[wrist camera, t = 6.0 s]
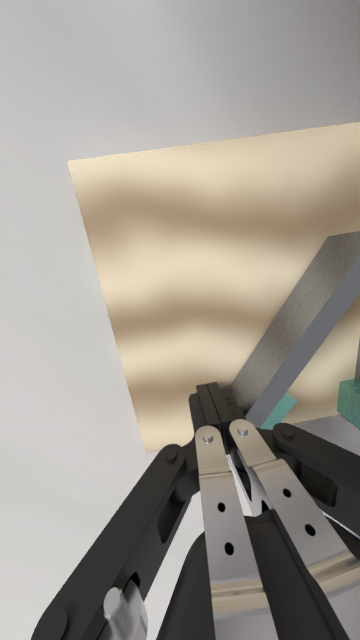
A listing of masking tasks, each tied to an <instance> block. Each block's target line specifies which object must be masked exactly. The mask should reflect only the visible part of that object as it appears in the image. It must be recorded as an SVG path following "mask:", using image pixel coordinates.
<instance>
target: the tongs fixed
mask: <svg viewBox="0 0 360 640" xmlns="http://www.w3.org/2000/svg"><path fill="white" fill-rule="evenodd" d="M337 412H339V413H340V414H341V415H342V416H343V417H345V418H346V419H347V420H348V421H349V422H351V423H352V424H353V425H354V426H355V427H357V428H358V429H359V430H360V339H359V347H358V354H357V362H356V370H355V378H354V379H351V380H346V381H340V383H339V392H338V402H337Z"/></svg>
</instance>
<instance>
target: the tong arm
mask: <svg viewBox="0 0 360 640" xmlns="http://www.w3.org/2000/svg"><path fill="white" fill-rule="evenodd" d="M359 293H360V231H356V232H350V233H344V234H338V235H333V236H328V237H327V239H326V240H325V242H324V243H323V245H322V246H321V248H320V249H319V251H318V252H317V254H316V256H315V257H314V259H313V260H312V262H311V263H310V265H309V266H308V268H307V269H306V271H305V272H304V274H303V275H302V277H301V278H300V280H299V281H298V283H297V284H296V286H295V288H294V289H293V291H292V292H291V294H290V295H289V297H288V298H287V300H286V301H285V303H284V304H283V306H282V307H281V309H280V310H279V312H278V313H277V315H276V316H275V318H274V320H273V321H272V323H271V324H270V326H269V327H268V329H267V330H266V332H265V333H264V335H263V336H262V338H261V339H260V341H259V342H258V344H257V345H256V347H255V348H254V350H253V352H252V353H251V355H250V356H249V358H248V359H247V361H246V362H245V364H244V365H243V367H242V368H241V370H240V371H239V373H238V374H237V376H236V377H235V379H234V380H233V382H232V383H231V385H230V387H229V388H228V390H229V391H231V393H232V394H233V396H234V398H235V400H236V402H237V403H238V405H239V407H240V409H241V411H242V412H243V414H244V416H245V418H246V420H247V421H249V422H251V423H252V424H253V425H254V427H257V428H260V429H269V430H272V429H273V426H274V425H275V424H277V423H281V422H282V420H283V419H284V418H285V416H286V415H287V414H288V412H289V411H290V410H291V408H292V407H293V406H294V405H295V403H296V402H297V400H296V399H295V398H294V397H293V396H292V395H291V394H290V393H289V392H288V391H287V390H288V389H289V388H290V386H291V385H292V384H293V382H294V381H295V380H296V378H297V377H298V376H299V374H300V373H301V372H302V370H303V369H304V367H305V366H306V365H307V363H308V362H309V361H310V359H311V358H312V357H313V355H314V354H315V353H316V351H317V350H318V349H319V347H320V346H321V344H322V343H323V342H324V340H325V339H326V338H327V336H328V335H329V334H330V332H331V331H332V330H333V328H334V327H335V326H336V324H337V323H338V322H339V320H340V319H341V317H342V316H343V315H344V313H345V312H346V311H347V309H348V308H349V307H350V305H351V304H352V303H353V301H354V300H355V299H356V297H357V296H358V294H359Z"/></svg>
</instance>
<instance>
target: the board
mask: <svg viewBox="0 0 360 640" xmlns="http://www.w3.org/2000/svg"><path fill="white" fill-rule="evenodd" d="M67 163H68V166H69V170H70V174H71V177H72V181H73V185H74V189H75V192H76V196H77V200H78V203H79V207H80V211H81V214H82V218H83V222H84V225H85V229H86V233H87V237H88V240H89V244H90V248H91V251H92V255H93V259H94V262H95V266H96V270H97V273H98V277H99V281H100V285H101V288H102V292H103V296H104V299H105V303H106V307H107V310H108V314H109V318H110V322H111V325H112V329H113V333H114V336H115V340H116V344H117V347H118V351H119V355H120V358H121V362H122V366H123V370H124V373H125V377H126V381H127V384H128V388H129V392H130V395H131V399H132V403H133V406H134V410H135V414H136V418H137V421H138V425H139V429H140V432H141V436H142V440H143V443H144V447H145V451H146V453H150V452H155V451H160V450H161V449H162V448H163V447H165V446H166V445H169V444H178V445H180V446H184V445H186V444H188V443H189V442H190V441H191V440H192V438H193V436H194V430H193V425H192V420H191V414H190V408H189V401H188V399H189V396H190V394H194V393H197V391H196V385H201V384H206V383H211V382H217V383H218V385H219V387H220V388H227V389H228V388H229V387H230V385H231V383H232V382H233V380H234V379H235V377H236V376H237V374H238V373H239V371H240V370H241V368H242V367H243V365H244V364H245V362H246V361H247V359H248V358H249V356H250V355H251V353H252V352H253V350H254V348H255V347H256V345H257V344H258V342H259V341H260V339H261V338H262V336H263V335H264V333H265V332H266V330H267V329H268V327H269V326H270V324H271V323H272V321H273V320H274V318H275V316H276V315H277V313H278V312H279V310H280V309H281V307H282V306H283V304H284V303H285V301H286V300H287V298H288V297H289V295H290V294H291V292H292V291H293V289H294V288H295V286H296V284H297V283H298V281H299V280H300V278H301V277H302V275H303V274H304V272H305V271H306V269H307V268H308V266H309V265H310V263H311V262H312V260H313V259H314V257H315V256H316V254H317V252H318V251H319V249H320V248H321V246H322V245H323V243H324V242H325V240H326V239H327V237H328V236H333V235H338V234H344V233H350V232H356V231H360V122H354V123H346V124H339V125H332V126H324V127H317V128H309V129H302V130H294V131H287V132H279V133H272V134H265V135H257V136H250V137H242V138H235V139H227V140H220V141H213V142H205V143H198V144H190V145H183V146H175V147H168V148H161V149H153V150H146V151H138V152H131V153H123V154H116V155H109V156H101V157H94V158H86V159H79V160H71V161H67ZM359 339H360V293H359V294H358V296H357V297H356V299H355V300H354V301H353V303H352V304H351V305H350V307H349V308H348V309H347V311H346V312H345V313H344V315H343V316H342V317H341V319H340V320H339V322H338V323H337V324H336V326H335V327H334V328H333V330H332V331H331V332H330V334H329V335H328V336H327V338H326V339H325V340H324V342H323V343H322V344H321V346H320V347H319V349H318V350H317V351H316V353H315V354H314V355H313V357H312V358H311V359H310V361H309V362H308V363H307V365H306V366H305V367H304V369H303V370H302V372H301V373H300V374H299V376H298V377H297V378H296V380H295V381H294V382H293V384H292V385H291V386H290V388H289V389H288V390H287V391H288V392H289V393H290V394H291V395H292V396H293V397H294V398H295V399H296V400H297V402H296V403H295V405H294V406H293V407H292V408H291V410H290V411H289V412H288V414H287V415H286V416H285V418H284V419H283V420H282V422H281V423H288V424H295V423H300V422H305V421H310V420H315V419H320V418H325V417H330V416H335V415H340V413H339V412H337V402H338V392H339V383H340V381H346V380H351V379H354V378H355V370H356V362H357V354H358V347H359Z"/></svg>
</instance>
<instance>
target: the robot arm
mask: <svg viewBox="0 0 360 640" xmlns="http://www.w3.org/2000/svg"><path fill="white" fill-rule="evenodd" d="M196 391H197V393H194V394H190V396H189V399H188V401H189V408H190V414H191V420H192V425H193V430H194V436H193V438H192V440H191V441H190V442H189V443H188V444H186V445H184V446H182V447H181V446H180V445H178V444H169V445H166V446H165V447H163V448H162V449H161V450H160V452H159V453H158V455H157V456H156V457H155V459H154V460H153V462H152V463H151V464H150V466H149V467H148V469H147V470H146V471H145V473H144V474H143V475H142V477H141V478H140V480H139V481H138V482H137V484H136V485H135V487H134V488H133V489H132V491H131V492H130V493H129V495H128V496H127V498H126V499H125V500H124V502H123V503H122V505H121V506H120V507H119V509H118V510H117V512H116V513H115V514H114V516H113V517H112V518H111V520H110V521H109V523H108V524H107V525H106V527H105V528H104V530H103V531H102V532H101V534H100V535H99V537H98V538H97V539H96V541H95V542H94V543H93V545H92V546H91V548H90V549H89V550H88V552H87V553H86V555H85V556H84V557H83V559H82V560H81V562H80V563H79V564H78V566H77V567H76V568H75V570H74V571H73V573H72V574H71V575H70V577H69V578H68V580H67V581H66V582H65V584H64V585H63V587H62V588H61V589H60V591H59V592H58V593H57V595H56V596H55V598H54V599H53V600H52V602H51V603H50V605H49V606H48V607H47V609H46V610H45V612H44V613H43V615H42V616H41V618H40V620H39V622H38V624H37V626H36V628H35V630H34V633H33V635H32V638H31V640H146V637H147V629H148V619H147V612H146V608H145V605H144V600H145V598H146V596H147V594H148V592H149V590H150V587H151V585H152V583H153V581H154V579H155V577H156V575H157V572H158V570H159V568H160V566H161V564H162V562H163V559H164V557H165V555H166V553H167V551H168V549H169V546H170V544H171V542H172V540H173V538H174V536H175V533H176V531H177V529H178V527H179V525H180V523H181V520H182V518H183V516H184V514H185V512H186V510H187V508H188V505H189V503H190V501H191V497H192V496H193V495H194V494H196V493H197V492H198V491H200V492H201V501H202V511H203V520H204V529H205V531H204V532H203V533H202V534H201V535H199V537H198V538H197V539H196V540H195V542H194V543H193V545H192V546H191V548H190V550H189V552H188V554H187V556H186V559H185V561H184V564H183V567H182V569H181V572H180V575H179V578H178V581H177V583H176V586H175V589H174V592H173V594H172V597H171V600H170V603H169V605H168V608H167V611H166V614H165V616H164V619H163V622H162V625H161V628H160V630H159V633H158V636H157V639H156V640H360V539H358V538H357V537H356V536H354V535H353V534H351V533H350V532H349V531H347V530H346V529H345V528H343V527H342V526H340V525H339V524H338V523H336V522H335V521H333V520H332V519H330V518H328V517H327V516H325V515H323V513H322V512H321V510H322V511H324V512H325V513H327V514H328V515H330V516H331V517H333V518H334V519H335V520H337V521H338V522H340V523H341V524H343V525H344V526H346V527H347V528H349V529H350V530H352V531H353V532H354V533H356V534H357V535H359V536H360V456H358V455H356V454H354V453H352V452H350V451H348V450H345V449H343V448H341V447H339V446H337V445H335V444H332V443H330V442H328V441H326V440H324V439H322V438H319V437H317V436H315V435H313V434H311V433H309V432H306V431H304V430H302V429H300V428H298V427H296V426H293V425H291V424H288V423H277V424H275V425H274V426H273V429H272V430H269V429H260V428H257V427H254V425H253V424H252V423H251V422H249V421H247V420H246V418H245V416H244V414H243V412H242V411H241V409H240V407H239V405H238V403H237V402H236V400H235V398H234V396H233V394H232V393H231V391H229V390H228V389H227V388H220V387H219V385H218V383H217V382H211V383H206V384H201V385H196ZM227 454H230V455H231V458H232V465H233V469H234V472H235V474H236V476H237V478H238V481H239V483H240V485H241V488H242V490H243V492H244V495H245V497H246V499H247V501H248V504H249V506H250V509H251V512H252V516H253V517H251V516H244V515H243V511H242V508H241V504H240V500H239V497H238V493H237V489H236V485H235V482H234V478H233V474H232V472H231V471H230V469H229V465H228V461H227V458H226V455H227ZM320 509H321V510H320Z"/></svg>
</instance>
